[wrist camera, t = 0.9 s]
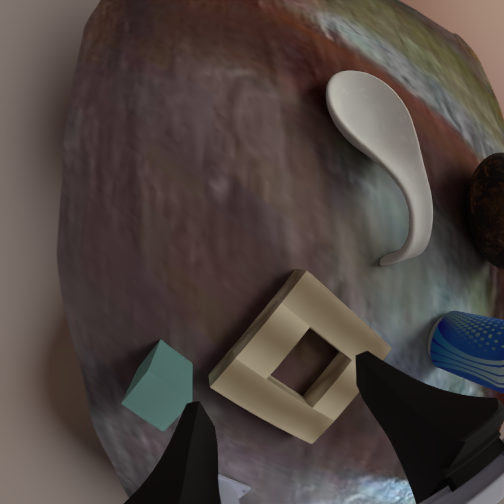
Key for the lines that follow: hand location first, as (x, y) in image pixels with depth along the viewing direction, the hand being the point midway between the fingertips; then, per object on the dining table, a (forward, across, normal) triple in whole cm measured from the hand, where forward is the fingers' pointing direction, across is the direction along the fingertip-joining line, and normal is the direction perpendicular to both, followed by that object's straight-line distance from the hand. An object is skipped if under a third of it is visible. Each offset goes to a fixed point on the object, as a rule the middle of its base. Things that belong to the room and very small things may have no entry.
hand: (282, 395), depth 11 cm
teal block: (+14, +10, +7) cm, 18 cm away
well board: (+14, -3, +11) cm, 19 cm away
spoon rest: (+22, -18, -6) cm, 29 cm away
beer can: (+15, -25, +19) cm, 35 cm away
